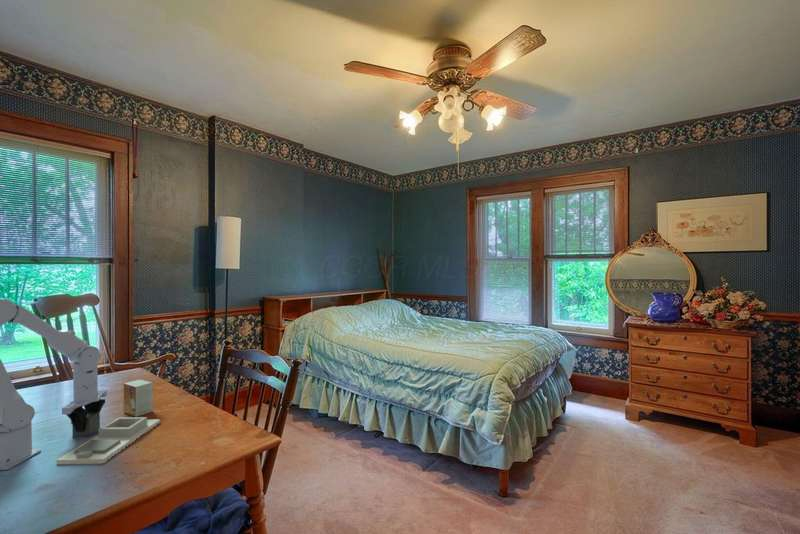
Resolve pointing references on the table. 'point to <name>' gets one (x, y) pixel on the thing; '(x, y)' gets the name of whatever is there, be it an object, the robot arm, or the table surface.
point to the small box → (138, 397)
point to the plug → (89, 425)
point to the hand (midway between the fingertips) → (86, 427)
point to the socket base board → (109, 440)
